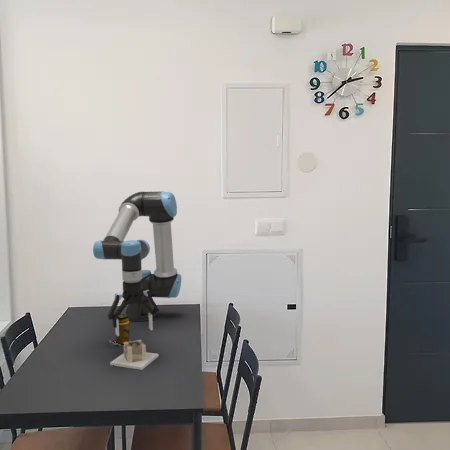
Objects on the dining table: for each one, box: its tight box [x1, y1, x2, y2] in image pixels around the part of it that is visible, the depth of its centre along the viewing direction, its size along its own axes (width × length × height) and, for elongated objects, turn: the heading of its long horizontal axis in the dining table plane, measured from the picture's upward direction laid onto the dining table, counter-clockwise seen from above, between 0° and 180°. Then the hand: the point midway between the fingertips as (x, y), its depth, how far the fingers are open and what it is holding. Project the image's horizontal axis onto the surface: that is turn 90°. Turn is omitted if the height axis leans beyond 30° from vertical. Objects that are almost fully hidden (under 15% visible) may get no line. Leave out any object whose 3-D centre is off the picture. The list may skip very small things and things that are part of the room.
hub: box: [109, 343, 160, 370], centre depth 210 cm, size 14×14×7 cm
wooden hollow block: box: [123, 339, 147, 363], centre depth 209 cm, size 7×7×6 cm
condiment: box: [108, 313, 131, 344], centre depth 229 cm, size 7×8×12 cm
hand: (134, 332), depth 209 cm, fingers open, 13 cm apart
